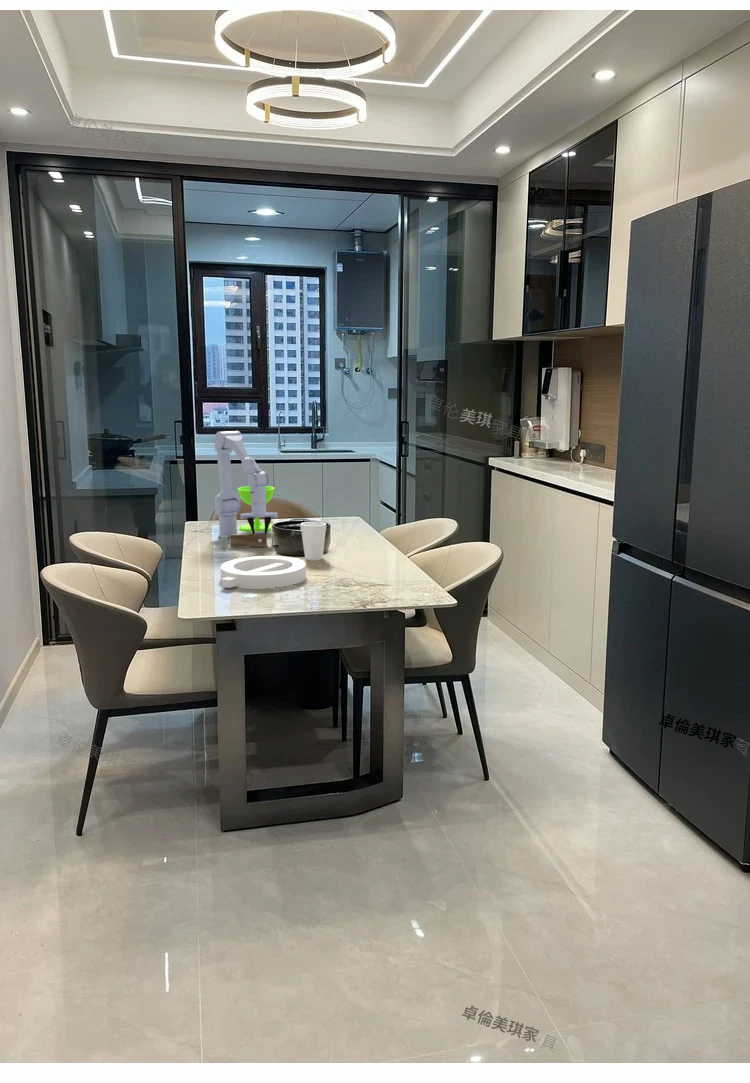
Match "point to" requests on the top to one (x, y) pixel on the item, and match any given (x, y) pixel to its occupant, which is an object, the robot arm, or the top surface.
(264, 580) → the ring with crossbar
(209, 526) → the top surface
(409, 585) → the top surface
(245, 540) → the brown rectangular bar
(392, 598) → the top surface
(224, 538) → the pale green rectangular bar
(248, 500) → the wineglass
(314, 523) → the foam cup
